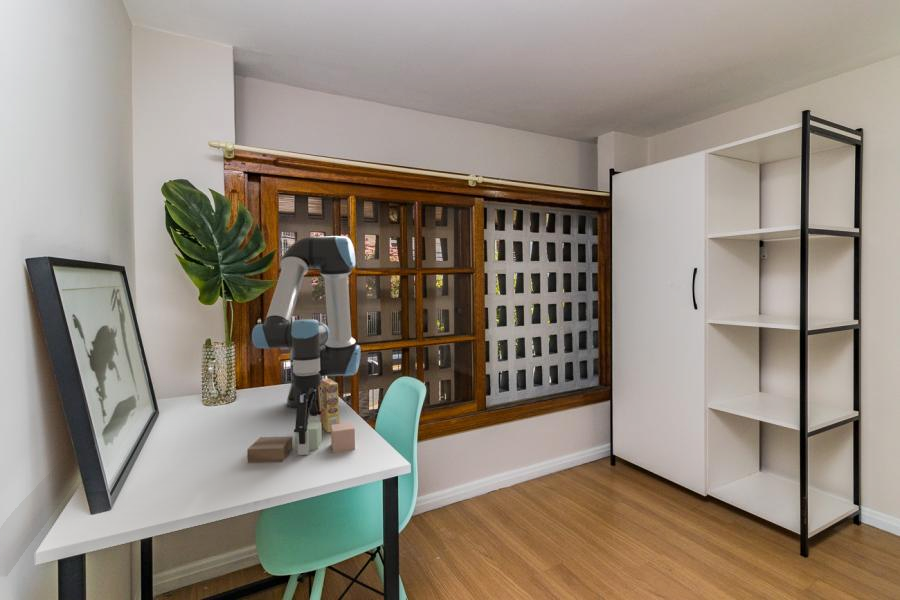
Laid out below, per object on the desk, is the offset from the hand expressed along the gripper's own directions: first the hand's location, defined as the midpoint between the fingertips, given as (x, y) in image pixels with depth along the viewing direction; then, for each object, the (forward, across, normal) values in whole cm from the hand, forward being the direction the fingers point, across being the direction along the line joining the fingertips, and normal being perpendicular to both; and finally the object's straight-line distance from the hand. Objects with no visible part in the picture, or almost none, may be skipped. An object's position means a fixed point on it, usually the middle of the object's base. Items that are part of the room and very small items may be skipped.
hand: (309, 445), depth 129 cm
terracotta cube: (0, +2, +10) cm, 10 cm away
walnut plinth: (+1, +6, -9) cm, 11 cm away
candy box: (0, -15, +3) cm, 15 cm away
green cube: (0, 0, 0) cm, 0 cm away
